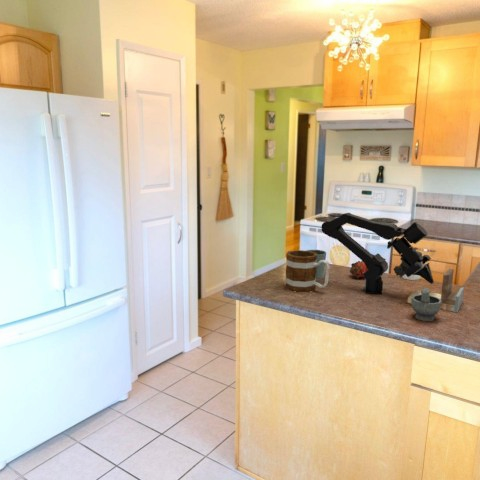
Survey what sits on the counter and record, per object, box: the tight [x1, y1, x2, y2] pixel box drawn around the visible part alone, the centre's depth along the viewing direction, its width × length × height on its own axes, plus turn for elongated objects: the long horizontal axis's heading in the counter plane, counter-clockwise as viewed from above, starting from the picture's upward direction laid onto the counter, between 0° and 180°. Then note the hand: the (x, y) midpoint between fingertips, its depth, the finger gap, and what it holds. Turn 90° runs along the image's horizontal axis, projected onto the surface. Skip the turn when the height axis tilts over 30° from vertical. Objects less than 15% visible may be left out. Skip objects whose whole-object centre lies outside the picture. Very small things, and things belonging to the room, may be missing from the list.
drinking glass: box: [305, 249, 327, 280], centre depth 199 cm, size 10×10×12 cm
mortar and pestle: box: [410, 287, 442, 322], centre depth 150 cm, size 11×9×12 cm
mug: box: [284, 249, 330, 293], centre depth 181 cm, size 20×14×15 cm
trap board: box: [407, 289, 455, 312], centre depth 167 cm, size 16×12×2 cm
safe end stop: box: [453, 286, 465, 313], centre depth 161 cm, size 1×13×6 cm, turn 146°
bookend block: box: [440, 268, 458, 305], centre depth 162 cm, size 5×10×11 cm, turn 146°
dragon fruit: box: [349, 260, 368, 279], centre depth 200 cm, size 8×8×12 cm
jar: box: [400, 250, 423, 281], centre depth 199 cm, size 9×8×12 cm
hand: (432, 283), depth 166 cm, fingers closed
